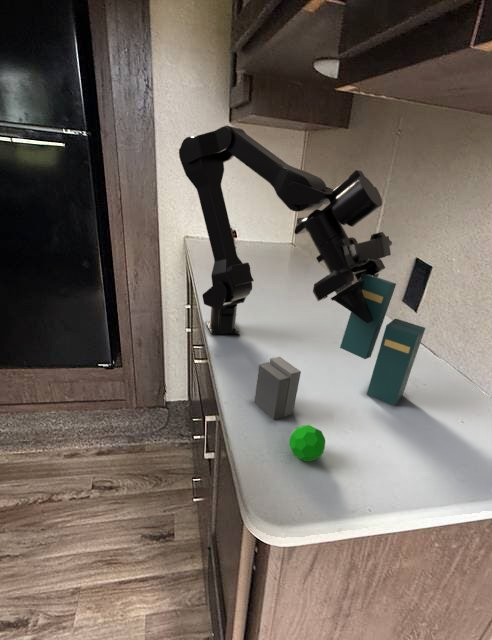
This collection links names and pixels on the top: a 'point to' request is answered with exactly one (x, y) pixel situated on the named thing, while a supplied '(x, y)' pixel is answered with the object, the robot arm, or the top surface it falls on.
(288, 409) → the grey books
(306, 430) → the polyhedron
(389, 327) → the teal books
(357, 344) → the teal book
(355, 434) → the top surface
